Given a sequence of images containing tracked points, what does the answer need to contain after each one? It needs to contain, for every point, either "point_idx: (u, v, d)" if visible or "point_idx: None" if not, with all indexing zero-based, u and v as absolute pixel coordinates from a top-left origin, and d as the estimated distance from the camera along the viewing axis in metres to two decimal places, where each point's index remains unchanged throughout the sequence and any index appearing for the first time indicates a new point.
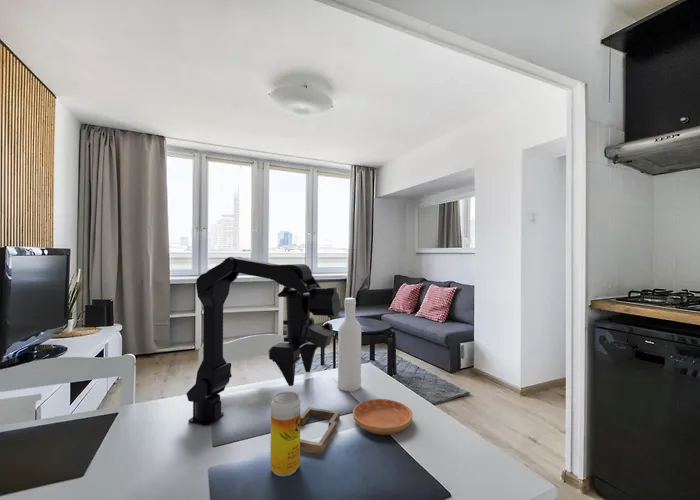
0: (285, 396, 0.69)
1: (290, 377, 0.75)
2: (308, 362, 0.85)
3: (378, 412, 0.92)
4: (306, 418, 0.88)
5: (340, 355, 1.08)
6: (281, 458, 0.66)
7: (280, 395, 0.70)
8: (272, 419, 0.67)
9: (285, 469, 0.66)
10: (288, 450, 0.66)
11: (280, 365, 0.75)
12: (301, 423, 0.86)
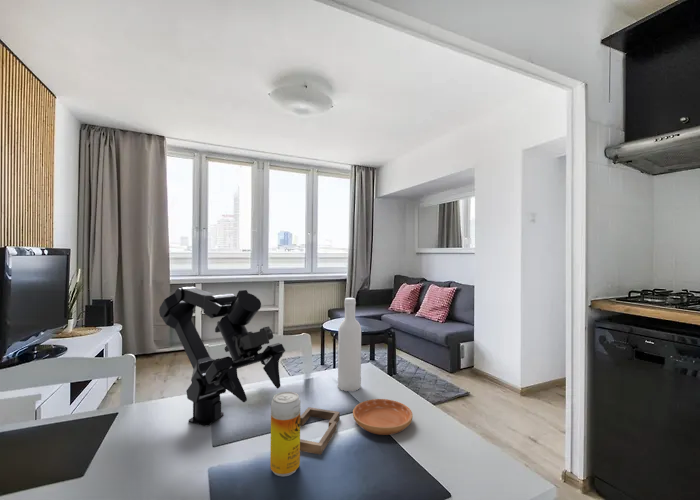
0: (285, 396, 0.69)
1: (238, 392, 0.70)
2: (274, 377, 0.79)
3: (378, 412, 0.92)
4: (306, 418, 0.88)
5: (340, 355, 1.08)
6: (281, 458, 0.66)
7: (280, 395, 0.70)
8: (272, 419, 0.67)
9: (285, 469, 0.66)
10: (288, 450, 0.66)
11: (226, 386, 0.72)
12: (301, 423, 0.86)
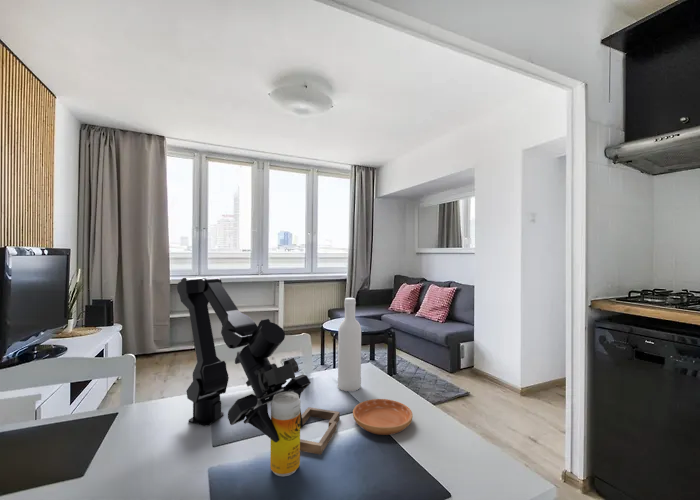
0: (285, 396, 0.69)
1: (270, 431, 0.66)
2: None
3: (378, 412, 0.92)
4: (306, 418, 0.88)
5: (340, 355, 1.08)
6: (281, 458, 0.66)
7: (280, 395, 0.70)
8: (272, 419, 0.67)
9: (285, 469, 0.66)
10: (288, 450, 0.66)
11: (256, 424, 0.67)
12: None
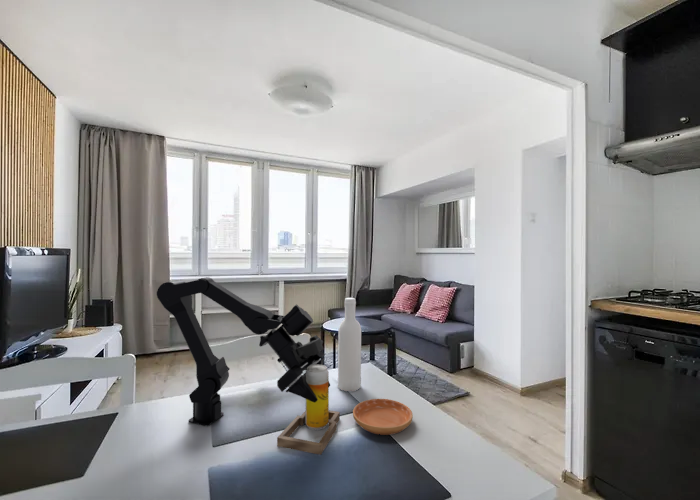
0: (315, 367, 0.87)
1: (310, 394, 0.81)
2: None
3: (378, 412, 0.92)
4: None
5: (340, 355, 1.08)
6: (319, 415, 0.83)
7: (310, 367, 0.87)
8: (310, 386, 0.84)
9: (322, 422, 0.84)
10: (324, 408, 0.84)
11: (296, 391, 0.81)
12: (301, 423, 0.86)
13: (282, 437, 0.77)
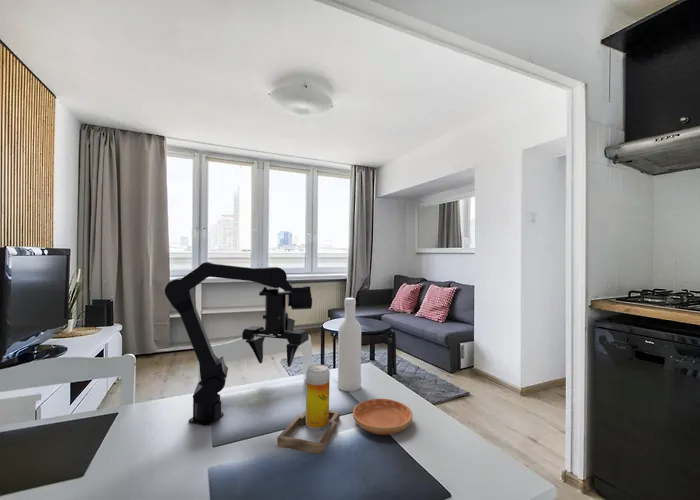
0: (316, 367, 0.87)
1: (292, 358, 0.93)
2: (261, 354, 0.96)
3: (378, 412, 0.92)
4: None
5: (340, 355, 1.08)
6: (320, 415, 0.83)
7: (311, 367, 0.87)
8: (311, 386, 0.84)
9: (322, 423, 0.84)
10: (324, 408, 0.84)
11: (292, 350, 0.91)
12: (301, 423, 0.86)
13: (282, 437, 0.77)
